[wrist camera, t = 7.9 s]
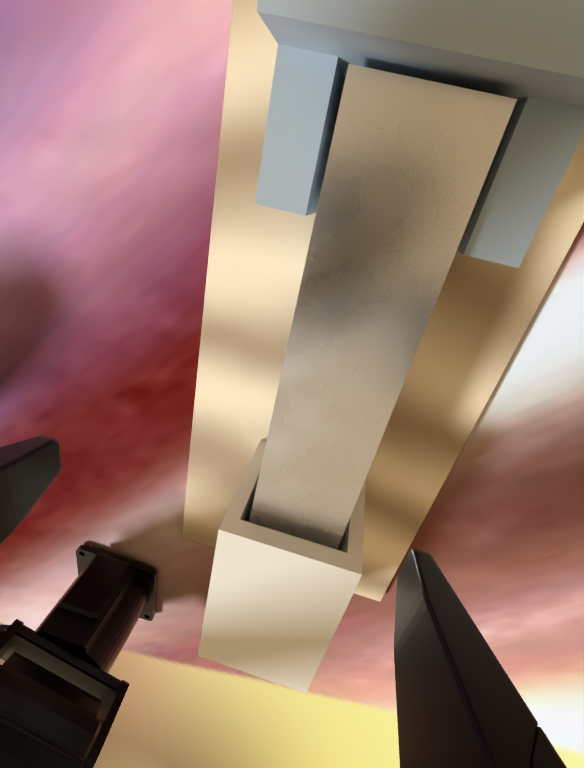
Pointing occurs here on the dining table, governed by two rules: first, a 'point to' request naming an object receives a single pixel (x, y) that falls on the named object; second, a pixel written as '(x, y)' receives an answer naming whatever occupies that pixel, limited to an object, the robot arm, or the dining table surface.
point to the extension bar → (370, 286)
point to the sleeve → (276, 592)
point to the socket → (439, 64)
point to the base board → (275, 316)
